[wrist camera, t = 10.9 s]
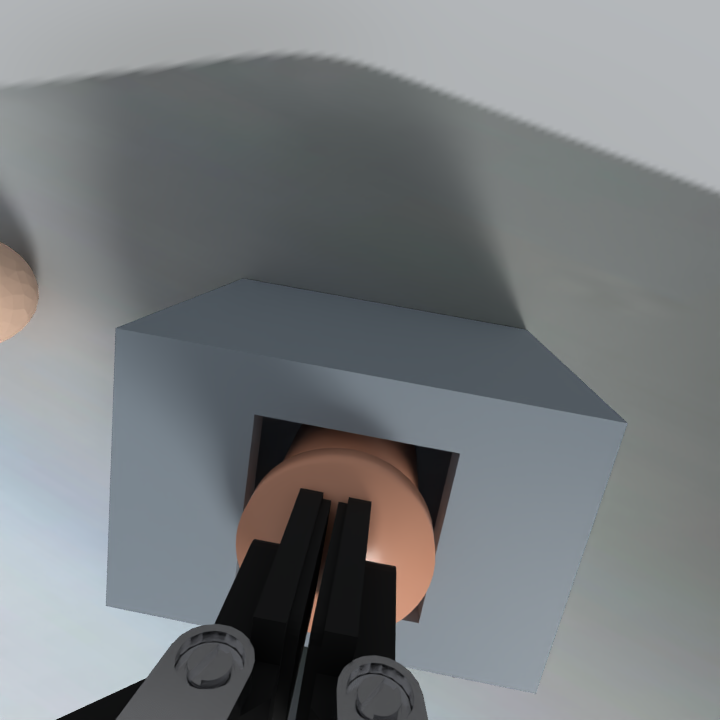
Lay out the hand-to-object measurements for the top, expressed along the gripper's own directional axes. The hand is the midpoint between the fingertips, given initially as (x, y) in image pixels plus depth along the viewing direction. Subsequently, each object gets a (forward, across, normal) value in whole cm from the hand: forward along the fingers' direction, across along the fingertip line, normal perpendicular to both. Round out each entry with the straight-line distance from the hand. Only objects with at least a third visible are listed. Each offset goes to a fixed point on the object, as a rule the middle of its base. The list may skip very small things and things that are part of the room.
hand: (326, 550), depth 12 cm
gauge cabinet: (+11, 0, 0) cm, 11 cm away
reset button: (+4, 0, 0) cm, 4 cm away
